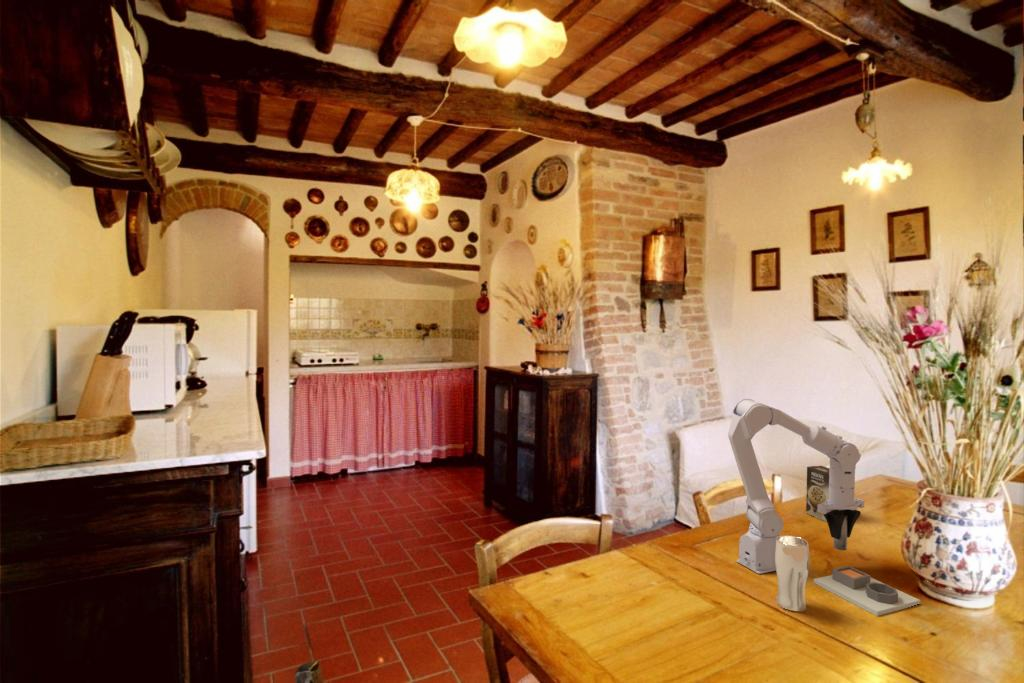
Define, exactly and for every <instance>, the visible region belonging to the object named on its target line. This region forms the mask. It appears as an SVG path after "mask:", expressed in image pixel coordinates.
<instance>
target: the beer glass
mask: <svg viewBox="0 0 1024 683" xmlns="http://www.w3.org/2000/svg"><path fill="white" fill-rule="evenodd" d="M809 550H810V549H809V542H808V540H806V539H804V538H802V537H799V536H796V535H795V536H794V535H790V534H782V535H779V536H778V537H777V538H776V547H775V566H776V571H775V572H776V576H777V577H776V578H777V585H778V590H777V596H776V601H775V603H776V602H777V603H778V604H779V605H780V606H781V607H783V608H785V609H789V610H794V611H803V612H805V611H806V610H807V605H806V604H807V603H806V598H805V591H806V590H805V588H806V586H807V585H806V584H807V581H808V575H809V570H810V551H809ZM777 603H776V604H777ZM780 606H779V607H780ZM781 607H780V608H781ZM783 608H782V609H783ZM785 609H784V610H785ZM804 610H805V611H804Z"/></svg>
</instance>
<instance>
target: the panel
mask: <svg viewBox="0 0 1024 683" xmlns="http://www.w3.org/2000/svg"><path fill="white" fill-rule="evenodd" d="M849 569H850V570H852V571H855V572H857V573H859V574H861V575H863V576H860V577H855V578H852V577H850V576H848V575H846V574H844V573H842V572H840V571H844V570H849ZM813 584H815V585H817V586H819V587H820V588H823V589H825V590H827V591H829V592H830V593H832V594H834V595H836V596H838V597H840V598H842V599H844V600H846V601H847V602H849V603H851V604H854V605H855V606H858V607H859V608H860V609H862V610H865V611H867V612H869V613H871V614H873V615H874V616H876V617H879V616H883V615H886V614H890V613H894V612H898V611H900V610H901V611H902V610H905V609H909V608H912V607H911V606H913V607H915V606H914V605H916V606H918V605H917V604H920V605H921V599H919V598H917V597H914V596H912V595H910V594H908V593H905V592H904V591H901V590H899V589H897V588H894V586H893V587H892V586H891V585H889V584H886V583H883V582H882V581H879V580H877V579H875V578H873V577H872V576H871V575H870V574H868V573H866V572H864V571H861V570H860V569H857V568H855V567H852V566H850V565H846V566H842V567H838V568H832V574H831V575H826V576H825V575H824V576H821V577H815V578H814V579H813ZM908 607H909V608H908Z"/></svg>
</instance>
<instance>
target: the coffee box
mask: <svg viewBox="0 0 1024 683" xmlns="http://www.w3.org/2000/svg"><path fill="white" fill-rule="evenodd" d="M829 470H830V467H826V466H823V465H812V466H807V467H806V497H805V501H806V504H805V514H806V513H808V514H810V515H809V516H811V515H812V517H813V516H814V518H815V517H816V519H819V520H820V519H821V520H820V521H822V520H823V521H822V522H825V523H827V521H826V519H825V517H824V515H823V514H822V513H820V512H817V510H818V504H822V503H824V502H825V501H827V500H829ZM808 514H807V515H808Z"/></svg>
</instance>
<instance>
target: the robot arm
mask: <svg viewBox="0 0 1024 683" xmlns="http://www.w3.org/2000/svg"><path fill="white" fill-rule="evenodd" d="M768 425H769V426H775V425H778V426H781V427H783V428H785V429H787V430H788V431H791V432H792V433H794V434H797V435H798V436H800V437H801V438H802V441H803V443H804V444H805V445H806V446H809V447H810V448H811V449H813V450H816V451H817V452H819V453H821V454H823V455H825V456H827V457H828V458H829V468H830V470H829V500H827V501H825V502H824V503H822V504H818V510H817V512H820V513H822V514H823V515H824V517H825V519H826V521H827V522H826V523H827V526H828V528H829V529H828V530H829V532H830V537H831V538H833V539H834V538H836V539H840V537H841V530H842V525H843V522H844V519H845V518H846V516H845V515H842V514H840V513H845V514H847V515H848V523H847V538H850V537H851V534H852V531H853V529H854V526H855V524H856V522H857V520H858V519H859V517H860V516H861V511H860V510H859V509H863V508H865V500H864V499H860V498H855V486H856V485H855V484H856V483H855V482H856V480H855V479H856V478H855V477H856V466H857V464H858V463H859V462H860V460H861V457H862V454H861V453H860V452H859V449H858V447H857V445H855V444H853V443H852V442H849V441H846V440H843V436H841V435H839V434H837V435H835V434H834V433H832V432H830V431H828V430H827V427H826V426H823V425H822V424H819V425H817V424H813V425H806V424H805V423H803V422H801V421H799V420H797V418H794V417H792V416H791V415H789V414H787V413H786V412H784V411H782V410H780V409H777V408H775V407H772V406H769V405H768V404H764V403H762V402H758V401H756V400H753V399H751V398H743V399H740V400H738V402H737V403H736V404H735V406H734V407H733V408H732V409H731V420H730V424H729V428H728V433H727V435H728V439H729V444H730V446H731V449H732V452H733V455H734V459H735V462H736V466H737V468H738V472H739V476H740V479H741V481H742V484H743V488H744V491H745V495H746V499H745V503H746V511H745V516H746V518H747V520H748V522H749V527H748V531H747V532H746V533H745V534H743V535H741V536H740V537H739V542H738V544H739V545H738V549H739V550H738V551H739V552H738V559H736V562H737V563H739V564H740V565H742V566H743V567H746V568H747V569H749V570H751V571H752V572H755V573H757V574H758V575H760V574H761V575H762V574H765V573H770V572H774V571H775V572H776V566H775V547H776V538H777V537H778V536H780V534H781V533H782V531H783V529H784V521H783V518H782V517H781V516H780V515H779V514H778V513H777V510H776V508H775V506H774V504H773V502H772V500H770V497H769V495H768V491H767V488H766V485H765V482H764V479H763V475H762V473H761V469H760V466H759V462H758V459H757V456H756V454H755V450H754V446H753V443H752V439H753V438H754V436H755V435H756V434H757V433H759V432H760V431H761V430H763V429H764V428H765V427H766V426H768ZM858 508H859V509H858Z"/></svg>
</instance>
